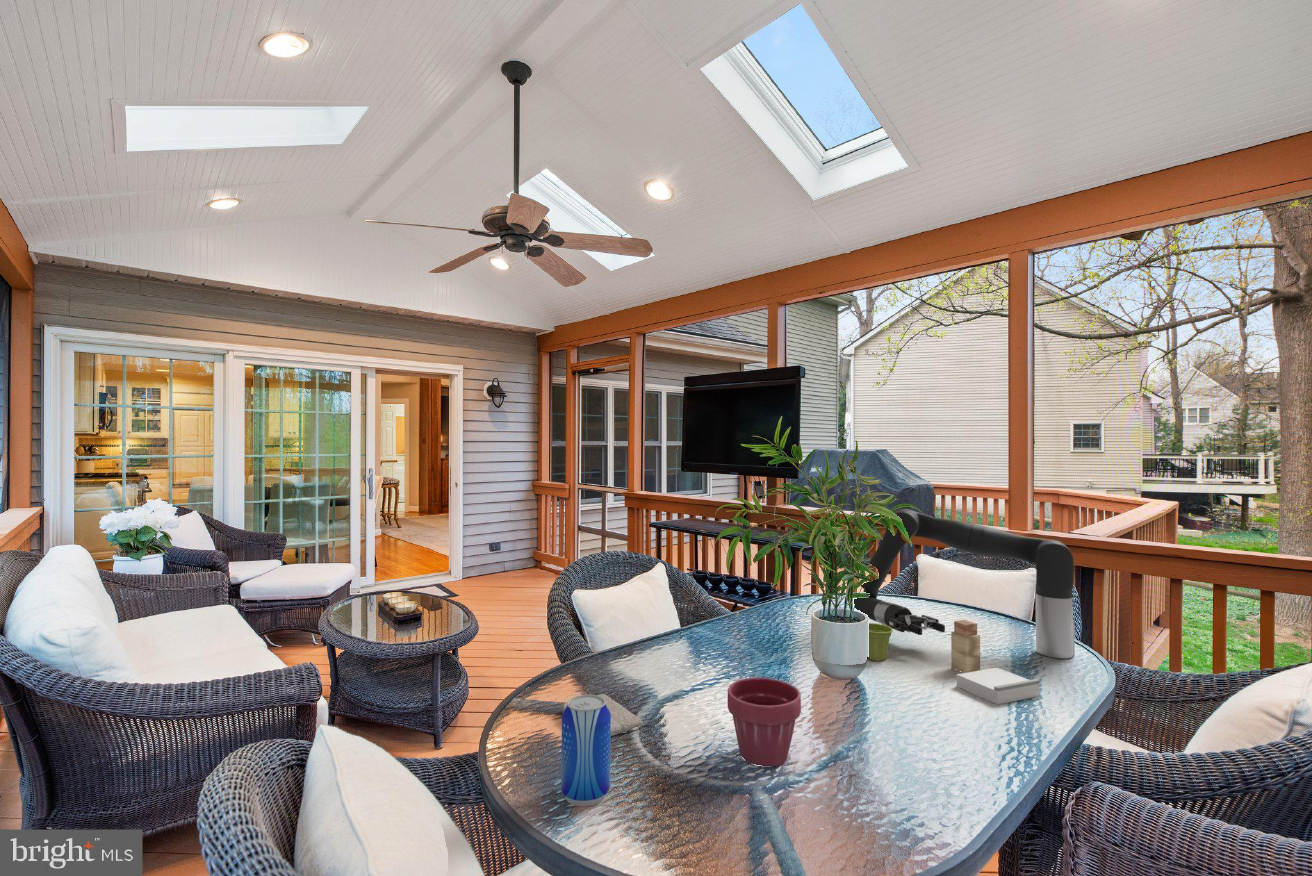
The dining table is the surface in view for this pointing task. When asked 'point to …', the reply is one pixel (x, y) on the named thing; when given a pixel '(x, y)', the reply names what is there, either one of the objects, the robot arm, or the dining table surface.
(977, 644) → the beige tall block
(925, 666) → the dining table surface
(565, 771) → the beer can
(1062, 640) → the robot arm
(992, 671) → the dock
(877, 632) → the plant pot
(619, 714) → the washcloth
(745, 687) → the plant pot
